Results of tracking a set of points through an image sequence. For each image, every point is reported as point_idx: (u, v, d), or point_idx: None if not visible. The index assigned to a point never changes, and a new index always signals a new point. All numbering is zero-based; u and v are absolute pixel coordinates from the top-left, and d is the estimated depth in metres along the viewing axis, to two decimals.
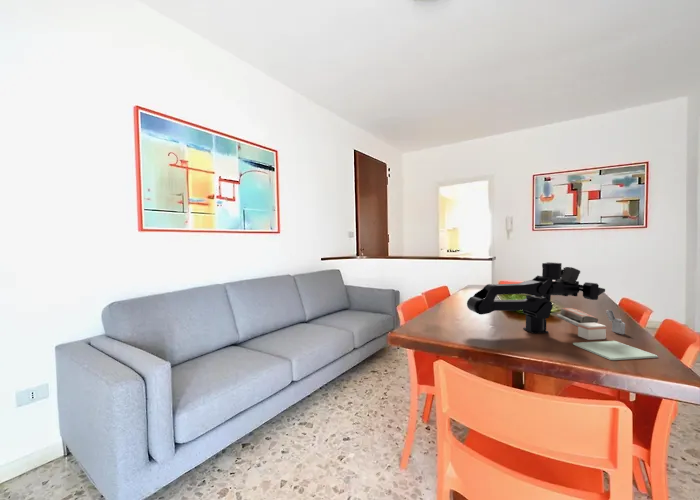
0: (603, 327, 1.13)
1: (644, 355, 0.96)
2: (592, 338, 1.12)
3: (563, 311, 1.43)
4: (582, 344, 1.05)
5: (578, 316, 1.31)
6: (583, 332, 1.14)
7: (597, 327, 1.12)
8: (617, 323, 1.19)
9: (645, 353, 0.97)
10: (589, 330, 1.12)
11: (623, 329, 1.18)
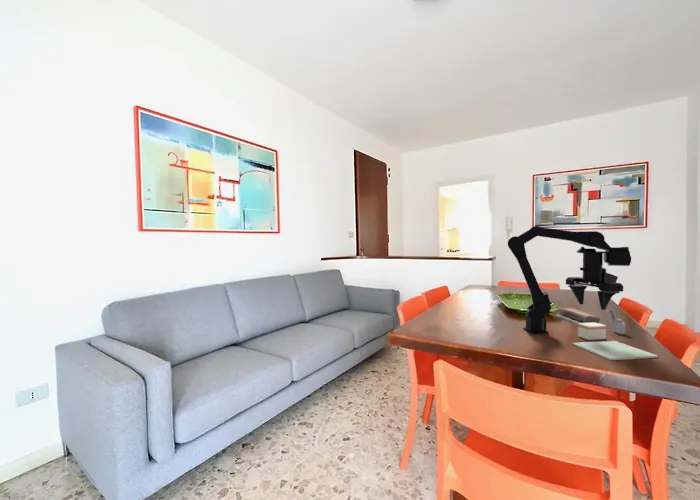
0: (603, 327, 1.13)
1: (644, 355, 0.96)
2: (592, 338, 1.12)
3: (562, 311, 1.42)
4: (582, 344, 1.05)
5: (581, 316, 1.31)
6: (583, 332, 1.14)
7: (597, 327, 1.12)
8: (617, 323, 1.19)
9: (645, 353, 0.97)
10: (589, 330, 1.12)
11: (623, 329, 1.18)
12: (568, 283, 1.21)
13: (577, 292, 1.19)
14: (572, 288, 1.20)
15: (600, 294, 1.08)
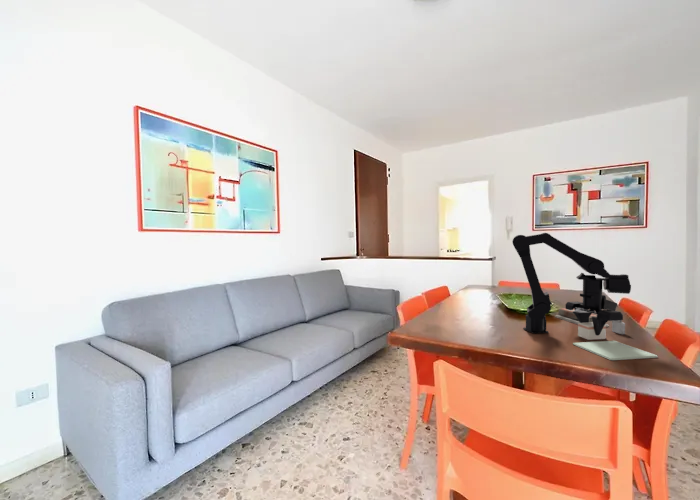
0: (603, 327, 1.13)
1: (644, 355, 0.96)
2: (592, 338, 1.12)
3: (562, 312, 1.42)
4: (582, 344, 1.05)
5: None
6: (583, 332, 1.14)
7: None
8: (617, 323, 1.19)
9: (645, 353, 0.97)
10: (589, 330, 1.12)
11: (623, 329, 1.18)
12: (568, 308, 1.22)
13: (581, 318, 1.17)
14: (577, 315, 1.18)
15: (594, 320, 1.11)
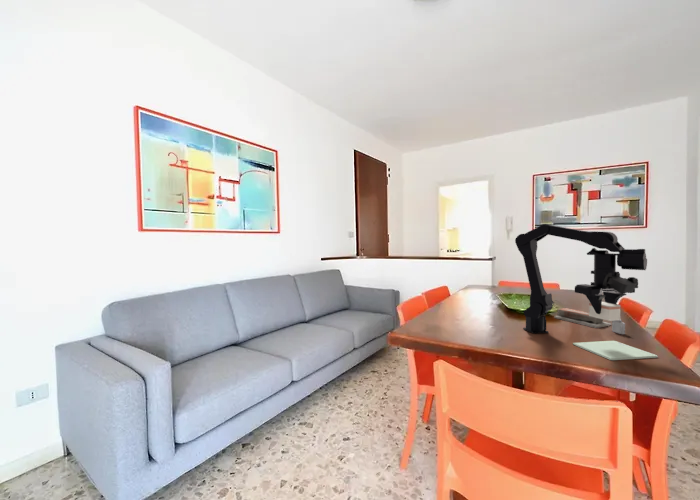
0: (606, 307, 1.03)
1: (644, 355, 0.96)
2: (593, 315, 1.07)
3: (562, 312, 1.41)
4: (582, 344, 1.05)
5: (589, 317, 1.30)
6: None
7: None
8: (617, 323, 1.19)
9: (645, 353, 0.97)
10: (590, 306, 1.08)
11: (623, 329, 1.18)
12: None
13: (606, 298, 1.08)
14: None
15: None
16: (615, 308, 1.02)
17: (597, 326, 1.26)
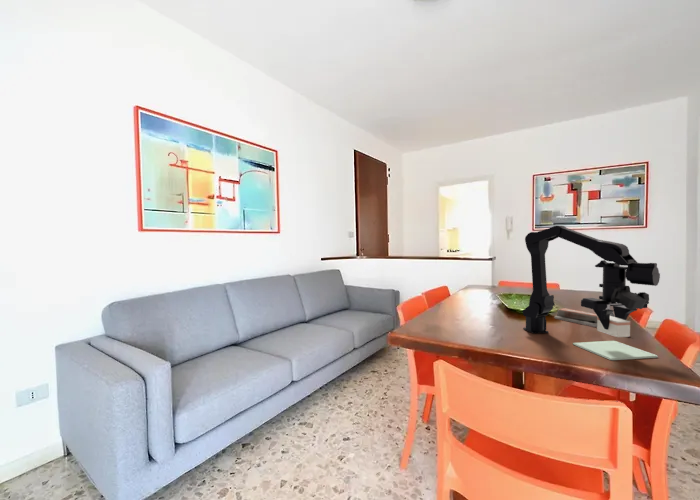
0: (614, 322, 0.98)
1: (644, 355, 0.96)
2: (601, 330, 1.03)
3: (562, 312, 1.40)
4: (582, 344, 1.05)
5: (591, 316, 1.30)
6: None
7: None
8: None
9: (645, 353, 0.97)
10: (598, 320, 1.04)
11: None
12: None
13: (616, 313, 1.03)
14: None
15: None
16: (624, 324, 0.98)
17: None
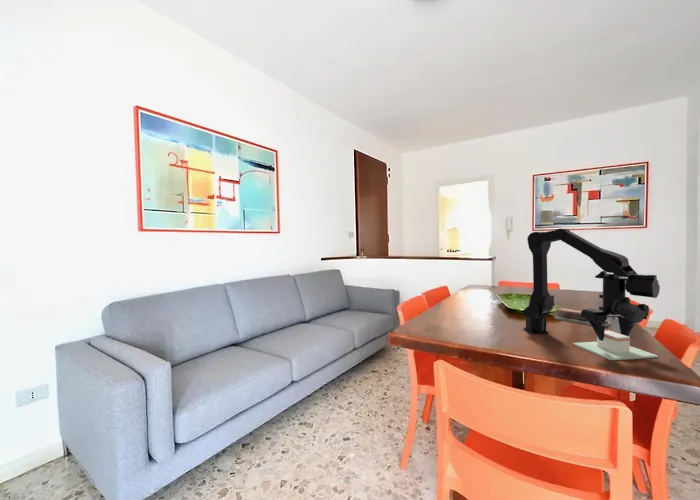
0: (613, 338, 0.99)
1: (644, 355, 0.96)
2: (601, 345, 1.03)
3: (562, 313, 1.40)
4: (582, 344, 1.05)
5: None
6: None
7: (606, 335, 1.01)
8: (617, 323, 1.19)
9: (645, 353, 0.97)
10: None
11: None
12: None
13: (621, 323, 1.03)
14: None
15: None
16: (624, 340, 0.98)
17: None
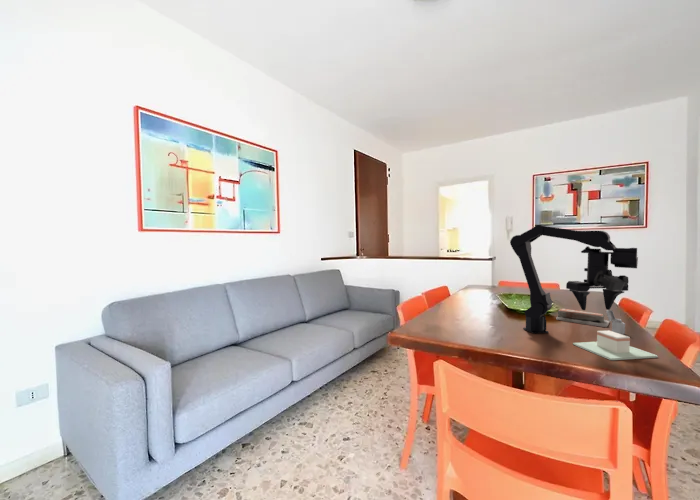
0: (613, 338, 0.99)
1: (644, 355, 0.96)
2: (601, 345, 1.03)
3: (563, 313, 1.39)
4: (582, 344, 1.05)
5: (595, 316, 1.31)
6: None
7: (606, 335, 1.01)
8: (617, 323, 1.19)
9: (645, 353, 0.97)
10: (598, 335, 1.04)
11: (623, 329, 1.18)
12: None
13: (605, 295, 1.11)
14: None
15: None
16: (624, 340, 0.98)
17: (607, 325, 1.27)
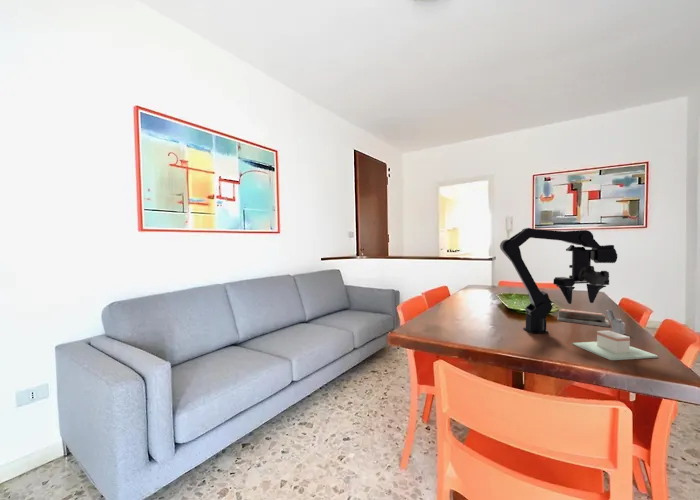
0: (613, 338, 0.99)
1: (644, 355, 0.96)
2: (601, 345, 1.03)
3: (564, 313, 1.38)
4: (582, 344, 1.05)
5: (597, 316, 1.31)
6: None
7: (606, 335, 1.01)
8: (617, 323, 1.19)
9: (645, 353, 0.97)
10: (598, 335, 1.04)
11: (623, 329, 1.18)
12: None
13: (589, 289, 1.20)
14: None
15: None
16: (624, 340, 0.98)
17: None
